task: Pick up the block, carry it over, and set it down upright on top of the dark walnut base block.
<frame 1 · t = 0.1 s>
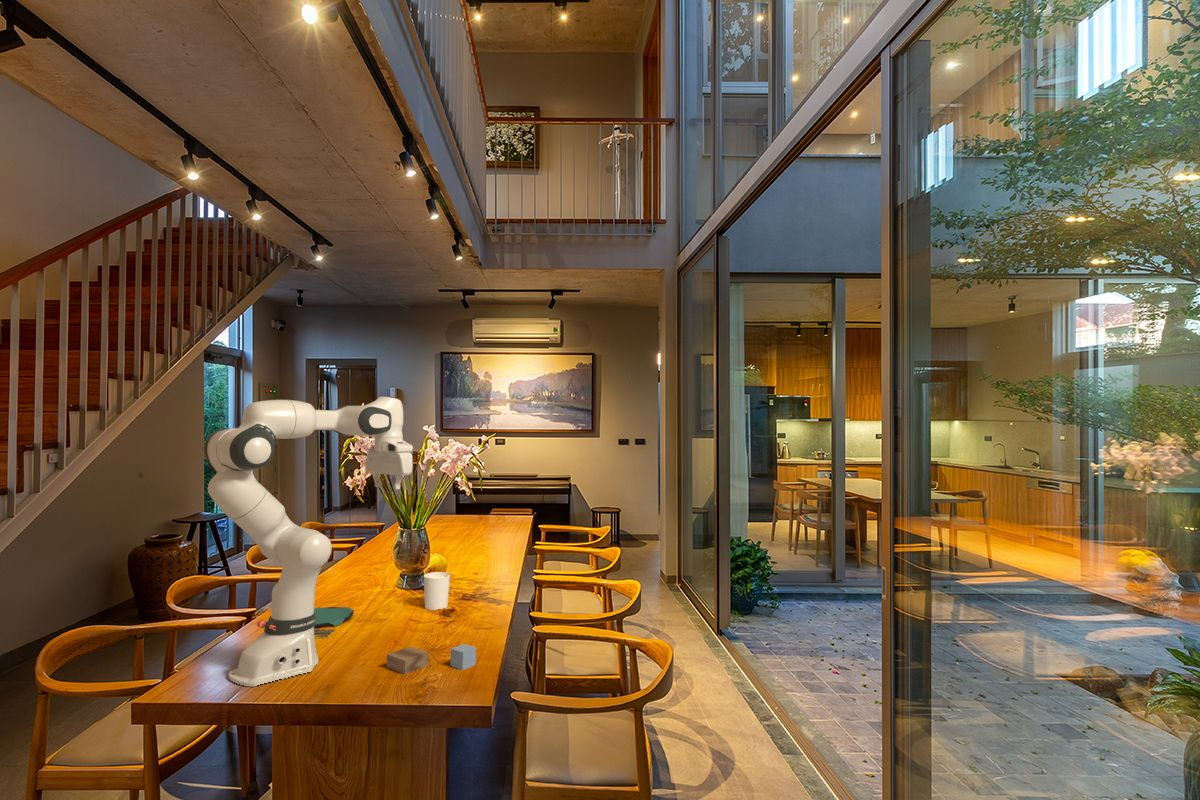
hand: (387, 488, 204), 48 cm above the table, tool pointing down, fingers open, 8 cm apart
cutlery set: (317, 626, 214), on the table
block: (463, 665, 179), on the table
walnut base: (407, 667, 177), on the table
candle holder: (436, 607, 236), on the table
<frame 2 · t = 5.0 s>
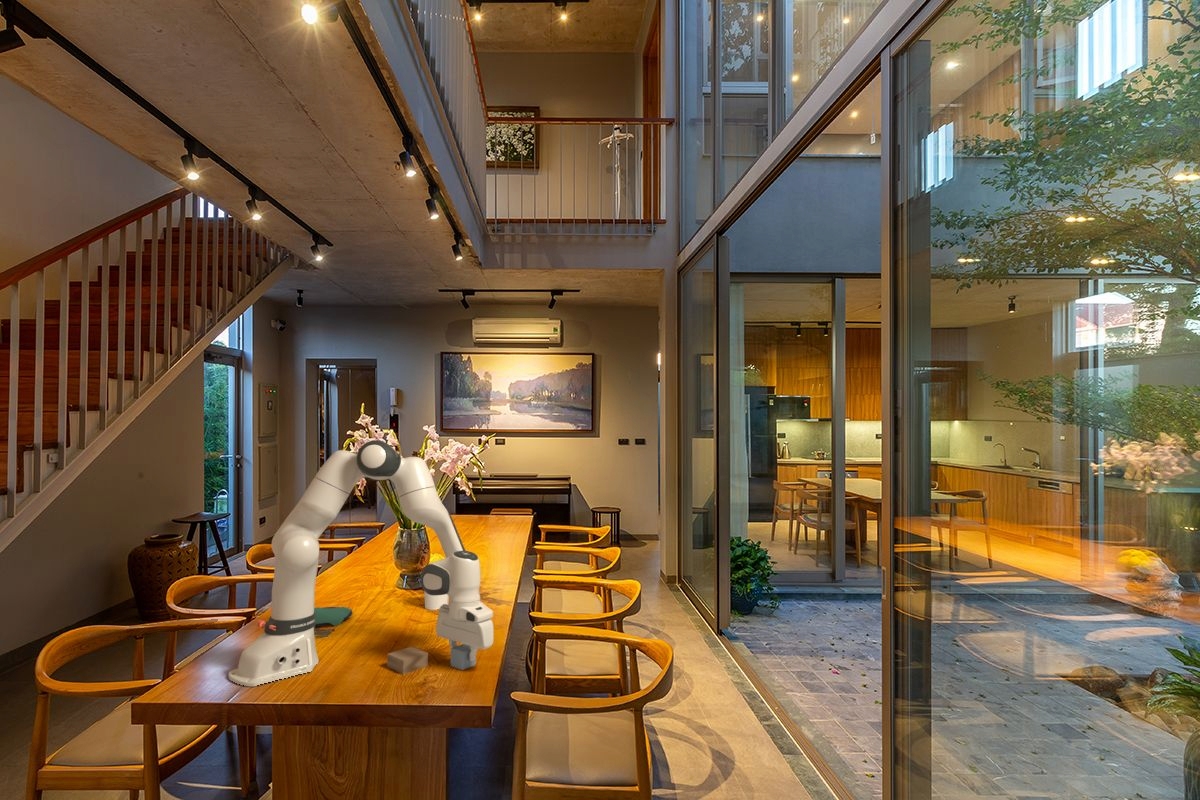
hand: (463, 657, 179), 2 cm above the table, tool pointing down, fingers closed on block, 5 cm apart
block: (463, 665, 179), on the table, touching gripper
everything else where it was.
when the fingers open (8 cm above the table, at t = 11.2 s): block drops 2 cm, resting on walnut base.
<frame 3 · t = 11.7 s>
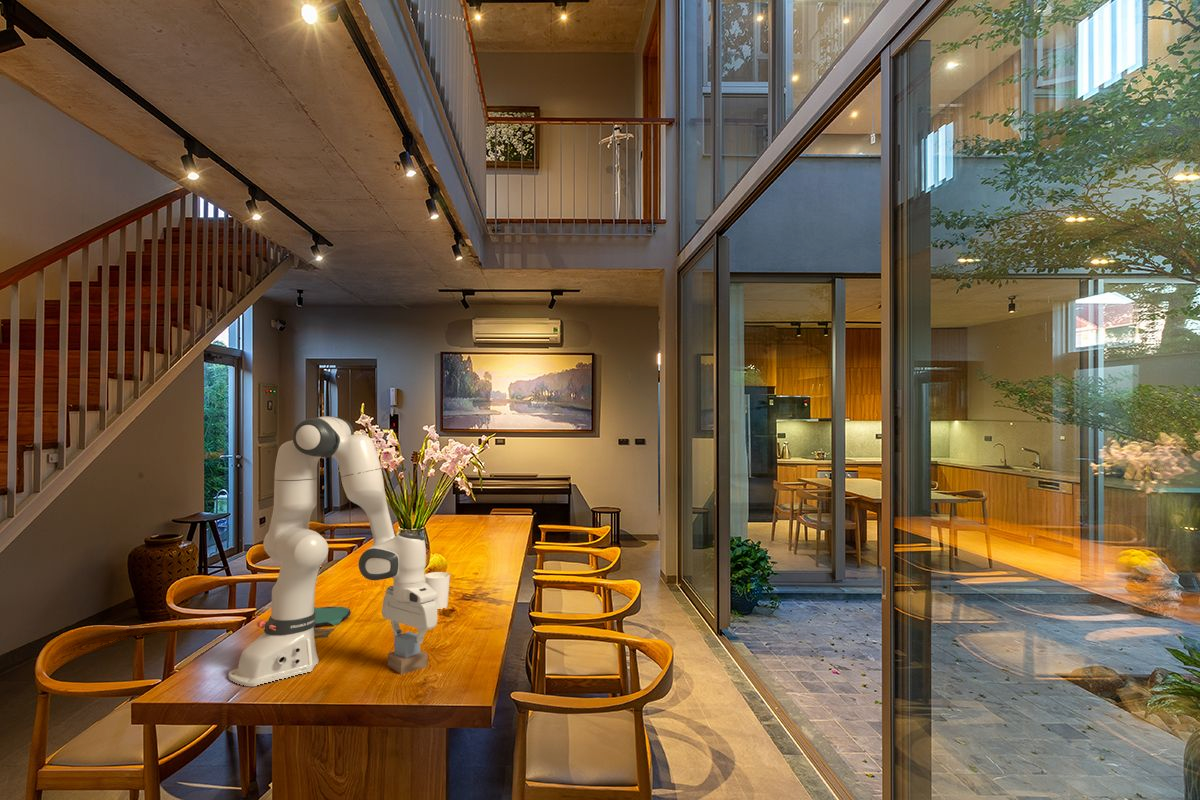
hand: (408, 639, 178), 8 cm above the table, tool pointing down, fingers open, 8 cm apart
block: (407, 653, 178), point 4 cm above the table, touching walnut base
walnut base: (407, 667, 177), on the table, touching block
everything else where it was.
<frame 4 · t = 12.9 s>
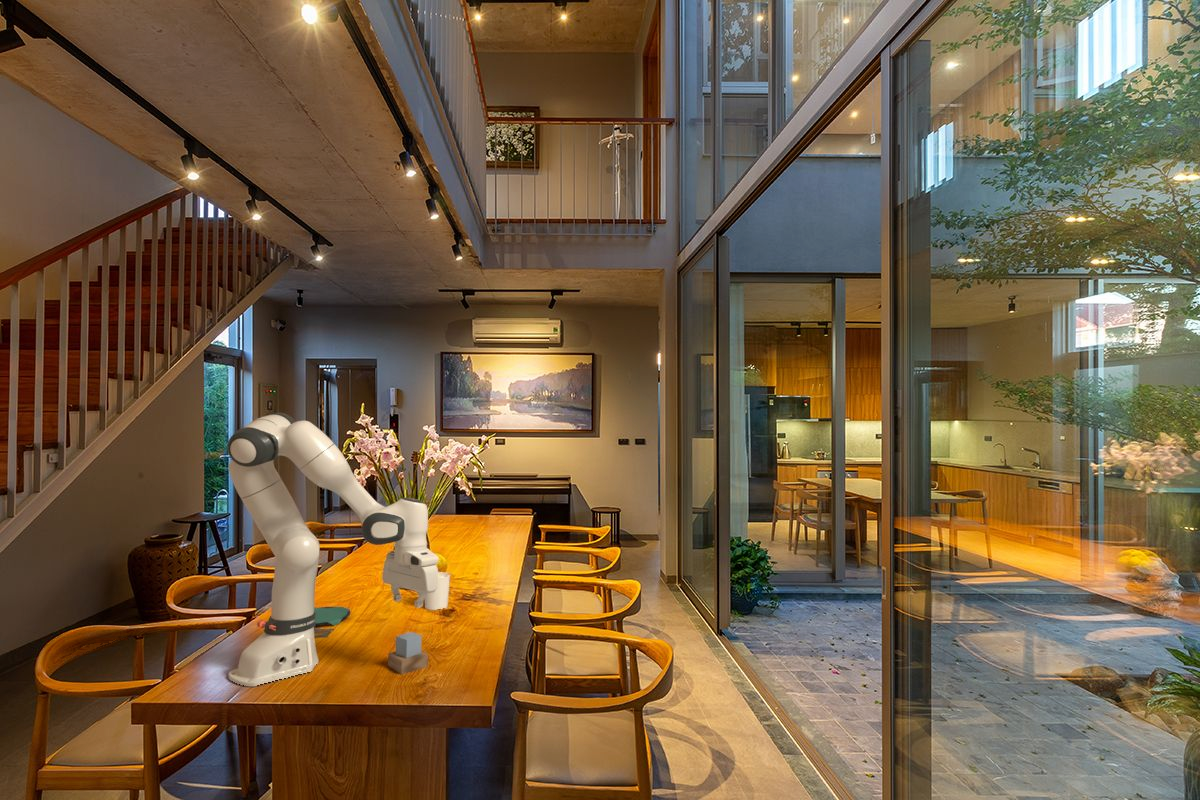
hand: (407, 603, 178), 18 cm above the table, tool pointing down, fingers open, 8 cm apart
nothing on the table moved.
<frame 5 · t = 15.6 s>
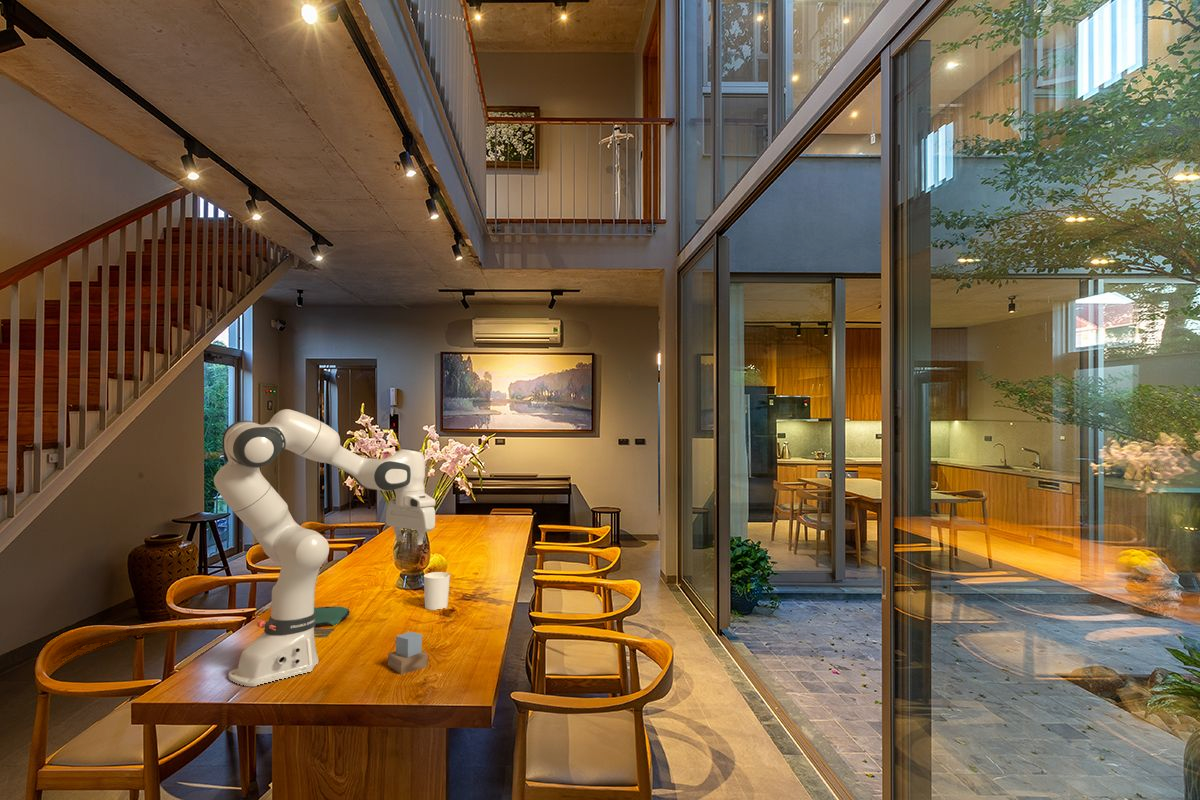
hand: (409, 542, 199), 31 cm above the table, tool pointing down, fingers open, 8 cm apart
at the end: block 0.3 cm off-centre on the walnut base, point 4.0 cm above the walnut base's base; block tilted 0°; the gripper is holding nothing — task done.
